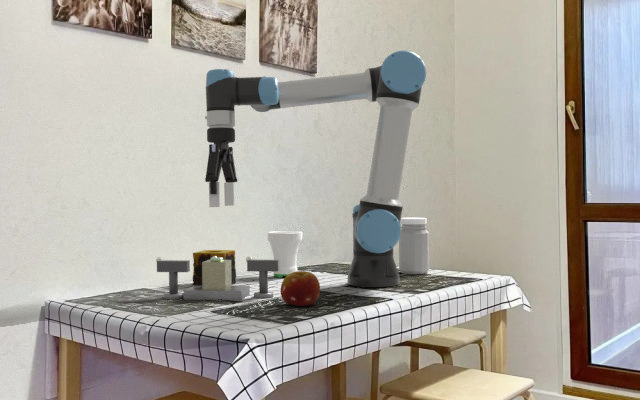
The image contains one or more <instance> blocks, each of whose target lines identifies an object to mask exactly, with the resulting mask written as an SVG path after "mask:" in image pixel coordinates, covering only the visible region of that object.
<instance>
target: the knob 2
mask: <svg viewBox="0 0 640 400" xmlns="http://www.w3.org/2000/svg"><path fill="white" fill-rule="evenodd" d="M245 262H246V268H247V269H246V272H258V281H259V282H258V291H255V292H253V298H254V297H255V299H272V298H273V297H274V292H272V291H269V275H268V274H269V273H268V272H274V271H276V272H278V271H279V260H274V259H254V257H252V256H251V255H248V256H247V257H246V259H245Z"/></svg>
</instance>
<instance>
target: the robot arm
mask: <svg viewBox="0 0 640 400" xmlns="http://www.w3.org/2000/svg"><path fill="white" fill-rule="evenodd" d="M426 78H427V70H426V64H425V62H424V61H423V59H422V58H421V57H420V56H419V55H418V54H416V53H415V52H413V51H411V50H402V49H401V50H397V51H394V52H392V53H391V54H389V55H388V56H387V57H385V59H384V61H383V62H382V64H381V65H380V66H379V65H378V66H376V67H368V68H367V69H365V70H364V72H356V73H349V74H341V75H340V74H339V75H332V76H331V75H330V76H323V77H313V78H305V79H303V78H302V79H295V80H286V81H279V80H278V78H277V77H275V76H267V75H266V76H265V75H264V76H253V77H250V76H249V77H237V76H235V73H234V71H233V70H231V69H228V68H225V69H222V68H218V69H217V68H214V69H210V70H208V71H207V73H206V78H205V79H206V80H205V81H206V83H205V99H206V100H205V103H206V115H205V116H204V118H205V120H206V126H207V127H208V128H207V130H206V141H207V142H208V143H209V146H208V158H207V164H206V173H205V178H204V180H205V183H208V198H209V199H208V200H209V201H208V202H209V205H208V206H209V207H208V208H221V186H220V185H221V183H220V180H219V179H220V175H221V171H222V173H223V178H224V182H223V189H224V191H223V193H224V198H223V199H224V206H225V207H228V206H229V207H230V206H232V207H233V206H235V204H236V203H235V201H236V200H235V183H238V178H237V172H236V167H235V166H236V165H235V160H234V152H233V150H234V149H233V147H232V146H230V145H229V144H230V143H234V142H236V129H235V128H234V127H236V119H235V118H236V117H235V116H236V115H235V113H236V112H235V108H236V107H235V106H237V107H238V106H250V107H251V108H252V109H253V110H255V111H256V112H260V113H263V112H264V113H267V112H269V111H270V110H278V109H286V108H296V107H297V108H298V107H305V106H312V105H323V104H333V103H341V102H350V101H358V100H367V101H368V102H370V103H374V102H376V103H377V104H378V105H379V107H380V108H379V115H378V120H377V121H378V122H377V127H376V132H375V133H376V134H375V140H374V146H373V152H372V153H373V154H372V159H371V166H370V172H369V176H368V177H369V178H368V185H367V190H366V191H367V192H366V193H365V195H364V196H363V197H361V198H360V199H359V204H356V205H354V207H353V209H352V214H351V215H352V216H351V217H352V235H353V236H352V238H353V239H352V244H353V249H352V250H353V252H352V255H353V256H352V260H351V264H350V267H349V271H348V273H347V285H349V286H353V287H359V288H362V287H363V288H385V287H387V288H388V287H389V288H390V287H395V286H398V285H400V280H401V279H400V274H399V271H398V270H399V269H398V267H397V265H396V261H395V259H394V247H395V246H396V245H397V244H399V239H400V236H401V229H402V228H401V227H402V225H401V218H402V215H403V214H402V213H403V204H402V202H401V201H400V199H399V197H400V196H399V195H400V190H401V183H402V178H403V170H404V165H405V158H406V153H407V146H408V139H409V134H410V133H409V132H410V127H411V119H412V115H413V114H412V113H413V111H414V110H416V109H417V108H418V107H419V106H420V100H421V95H422V87H423V85H424V83H425V81H426Z"/></svg>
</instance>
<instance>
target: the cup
mask: <svg viewBox="0 0 640 400" xmlns="http://www.w3.org/2000/svg"><path fill="white" fill-rule="evenodd" d="M303 235H304V234H303V231H296V230H275V231H268V232H267V241H268V242H269V244H270V247H271V250H272V255H273V260H279V271H278V272H276V271H273V276H274V277H275V278H279V279H283V278H284V276H285V277H286V276H287V275H288V274H290V273H293V272H297V271H298V265H297V262H298V260H297V259H298V252H299V249H300V245H301V242H302V241H303Z"/></svg>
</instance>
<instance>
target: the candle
mask: <svg viewBox="0 0 640 400" xmlns="http://www.w3.org/2000/svg"><path fill="white" fill-rule="evenodd" d="M213 256H216V257H223V260H231V284H232V285H234V284H236V283H237V271H236V270H237V269H236V250H235V249H204V250H200V251H195V252H192V259H193V264H192V266H193V271H192V286H194V285H202V262H204V261H207V260H211V258H212V257H213Z"/></svg>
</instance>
